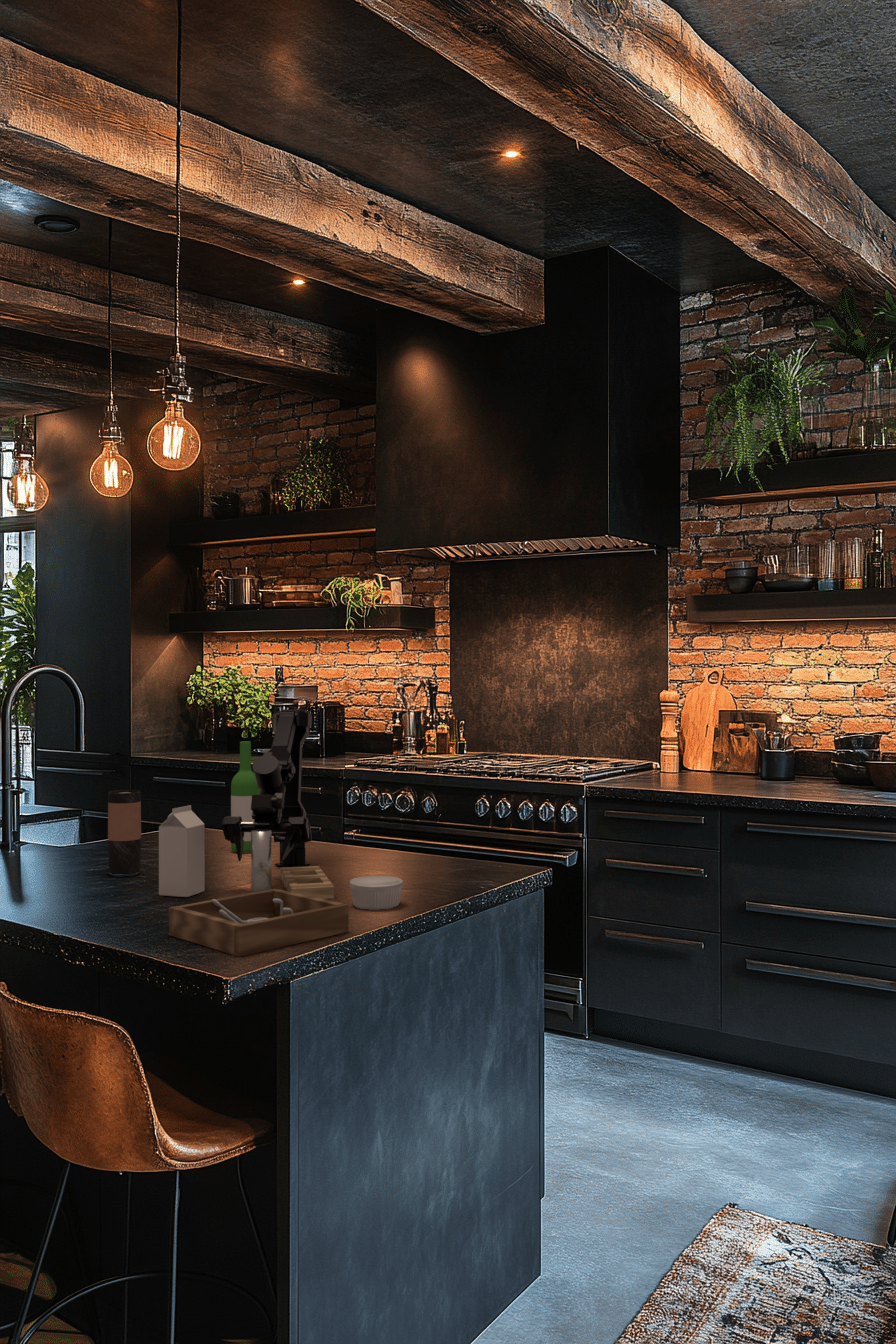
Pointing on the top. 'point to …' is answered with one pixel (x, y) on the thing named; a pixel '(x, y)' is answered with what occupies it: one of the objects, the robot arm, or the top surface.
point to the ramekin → (376, 892)
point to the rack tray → (253, 937)
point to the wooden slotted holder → (307, 881)
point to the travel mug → (124, 831)
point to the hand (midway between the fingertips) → (260, 859)
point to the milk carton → (181, 854)
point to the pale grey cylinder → (261, 860)
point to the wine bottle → (243, 792)
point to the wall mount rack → (249, 919)
